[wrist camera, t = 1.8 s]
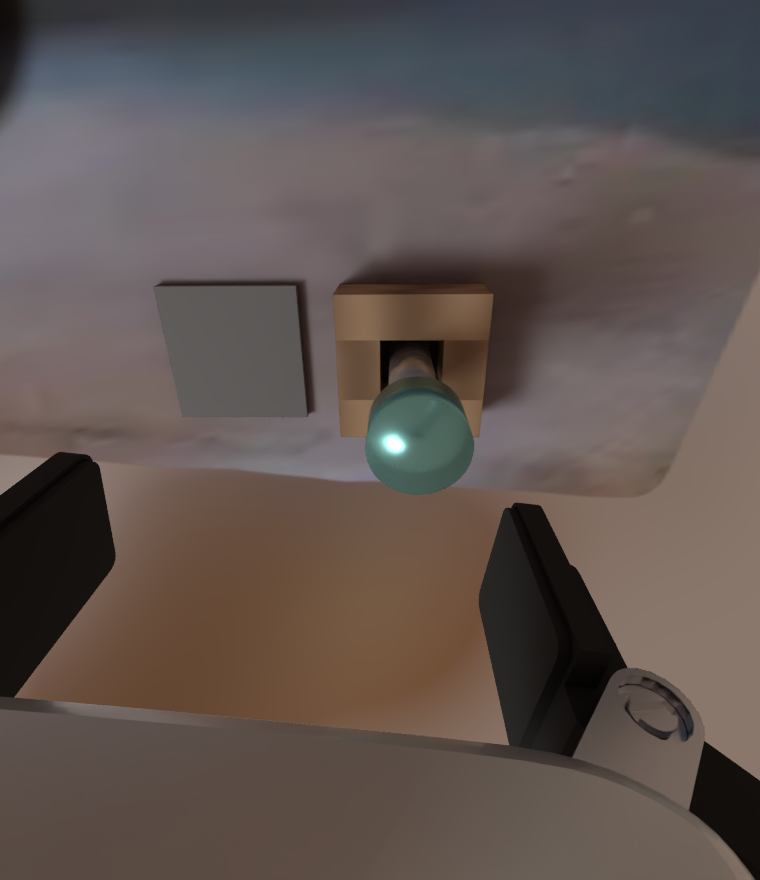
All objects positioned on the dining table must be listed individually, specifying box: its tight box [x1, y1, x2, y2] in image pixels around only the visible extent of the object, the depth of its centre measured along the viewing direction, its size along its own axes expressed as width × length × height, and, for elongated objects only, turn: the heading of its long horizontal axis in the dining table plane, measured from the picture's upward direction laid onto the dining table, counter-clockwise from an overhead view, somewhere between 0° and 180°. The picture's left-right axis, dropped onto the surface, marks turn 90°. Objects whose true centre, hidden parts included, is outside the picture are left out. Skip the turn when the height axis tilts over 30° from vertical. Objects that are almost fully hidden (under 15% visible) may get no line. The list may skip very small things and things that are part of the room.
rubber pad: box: [153, 284, 308, 417], centre depth 35 cm, size 10×10×1 cm
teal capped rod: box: [365, 340, 474, 495], centre depth 28 cm, size 5×5×15 cm
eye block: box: [333, 284, 494, 437], centre depth 33 cm, size 10×10×4 cm
